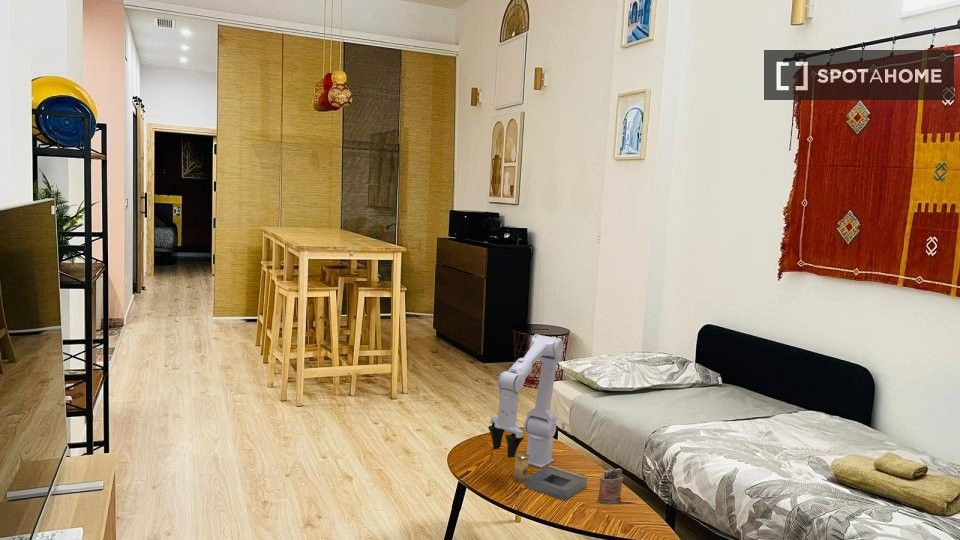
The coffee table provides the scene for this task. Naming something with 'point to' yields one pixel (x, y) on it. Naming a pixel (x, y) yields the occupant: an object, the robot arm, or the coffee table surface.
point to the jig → (556, 482)
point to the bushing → (521, 467)
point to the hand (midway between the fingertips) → (503, 452)
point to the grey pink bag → (610, 487)
